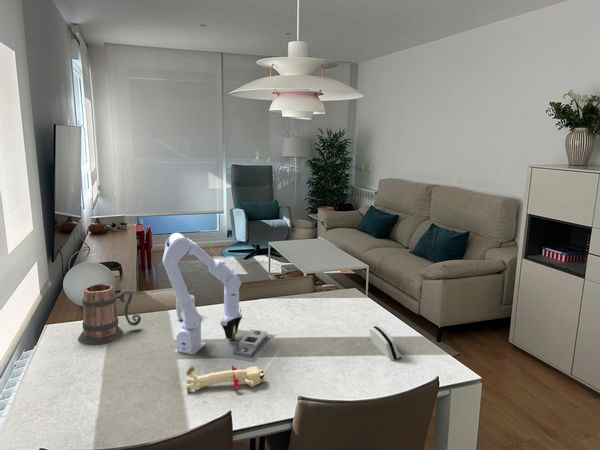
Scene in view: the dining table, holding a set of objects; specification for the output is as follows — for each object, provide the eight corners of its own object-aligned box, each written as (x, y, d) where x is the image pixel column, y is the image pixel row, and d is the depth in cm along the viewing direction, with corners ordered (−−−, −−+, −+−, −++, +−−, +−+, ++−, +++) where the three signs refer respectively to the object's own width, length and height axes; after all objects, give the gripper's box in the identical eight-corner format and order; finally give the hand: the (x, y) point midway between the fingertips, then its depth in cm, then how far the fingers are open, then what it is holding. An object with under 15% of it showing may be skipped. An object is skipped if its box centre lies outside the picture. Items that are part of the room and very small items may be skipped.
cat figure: (187, 401, 138) (268, 388, 143) (184, 375, 136) (266, 362, 141) (188, 384, 148) (263, 372, 153) (185, 360, 146) (262, 348, 151)
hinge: (403, 359, 166) (397, 336, 163) (392, 364, 165) (385, 341, 163) (383, 340, 182) (377, 319, 179) (372, 345, 181) (366, 323, 178)
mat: (254, 363, 160) (254, 362, 160) (208, 355, 164) (208, 354, 164) (275, 336, 183) (275, 335, 182) (234, 330, 187) (234, 329, 187)
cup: (192, 322, 193) (191, 300, 192) (174, 322, 194) (173, 300, 192) (196, 315, 201) (196, 294, 199) (179, 315, 201) (178, 293, 199)
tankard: (79, 349, 167) (76, 297, 163) (76, 331, 181) (73, 284, 177) (145, 337, 178) (143, 288, 175) (137, 321, 193) (135, 277, 189)
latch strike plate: (250, 357, 163) (250, 350, 163) (233, 354, 165) (233, 347, 164) (267, 337, 180) (267, 330, 180) (251, 334, 182) (251, 328, 182)
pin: (233, 342, 175) (233, 327, 174) (226, 341, 176) (226, 326, 175) (236, 338, 178) (236, 324, 177) (229, 337, 179) (229, 323, 178)
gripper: (233, 310, 166) (233, 345, 169) (248, 298, 180) (247, 330, 182) (216, 308, 168) (216, 342, 170) (231, 296, 182) (231, 327, 184)
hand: (231, 335), depth 176 cm, fingers open, 4 cm apart
